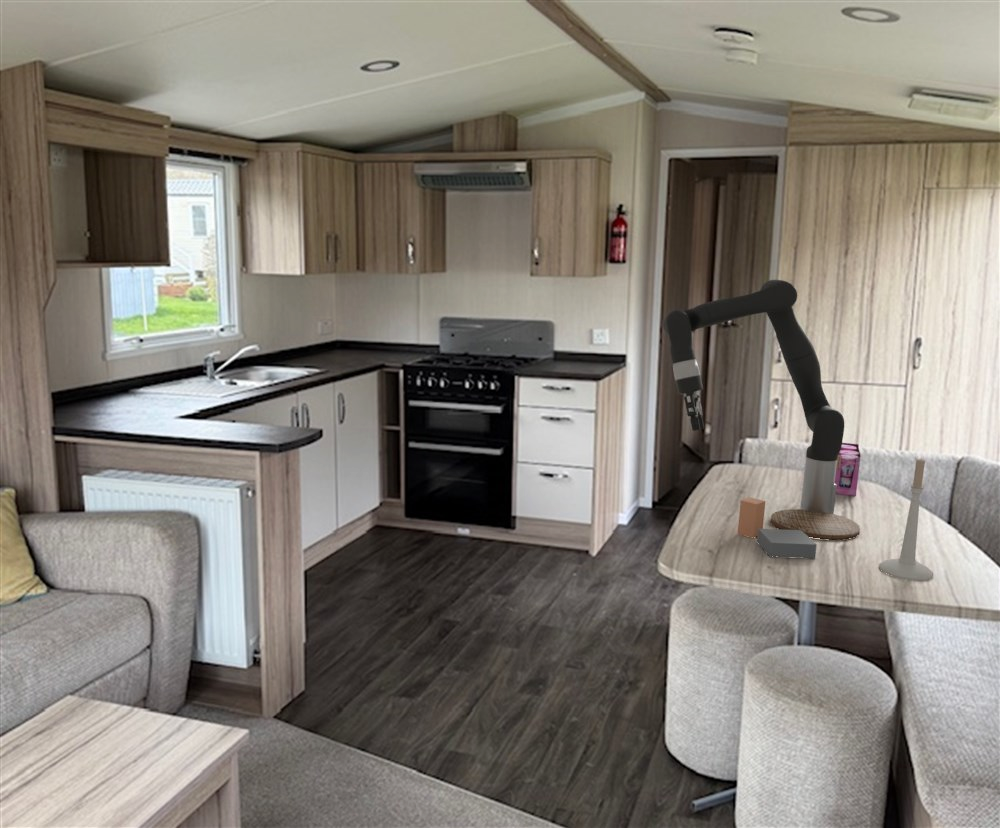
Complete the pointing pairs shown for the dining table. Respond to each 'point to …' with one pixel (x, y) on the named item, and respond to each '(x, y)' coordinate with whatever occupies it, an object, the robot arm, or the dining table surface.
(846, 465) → the gum box
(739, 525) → the terracotta block
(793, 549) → the charcoal plinth
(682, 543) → the dining table surface
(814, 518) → the trivet
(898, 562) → the candlestick
